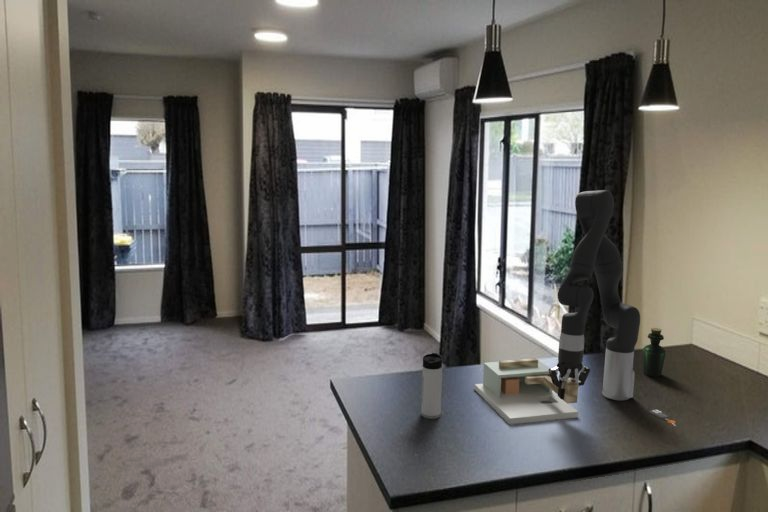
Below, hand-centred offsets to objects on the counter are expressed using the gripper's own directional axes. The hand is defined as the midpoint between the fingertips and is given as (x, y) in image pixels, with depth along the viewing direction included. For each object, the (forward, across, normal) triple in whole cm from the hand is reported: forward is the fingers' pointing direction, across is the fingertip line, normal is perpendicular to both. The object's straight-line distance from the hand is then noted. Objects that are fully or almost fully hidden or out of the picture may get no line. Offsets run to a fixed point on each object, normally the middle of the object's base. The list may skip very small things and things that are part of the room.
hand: (567, 397), depth 195 cm
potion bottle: (+6, -54, -30) cm, 62 cm away
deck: (+7, +8, -15) cm, 18 cm away
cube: (+5, +10, -21) cm, 24 cm away
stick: (-3, +6, -22) cm, 24 cm away
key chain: (+7, -32, +7) cm, 34 cm away
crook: (0, +3, -6) cm, 7 cm away
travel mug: (+8, +42, -11) cm, 44 cm away
